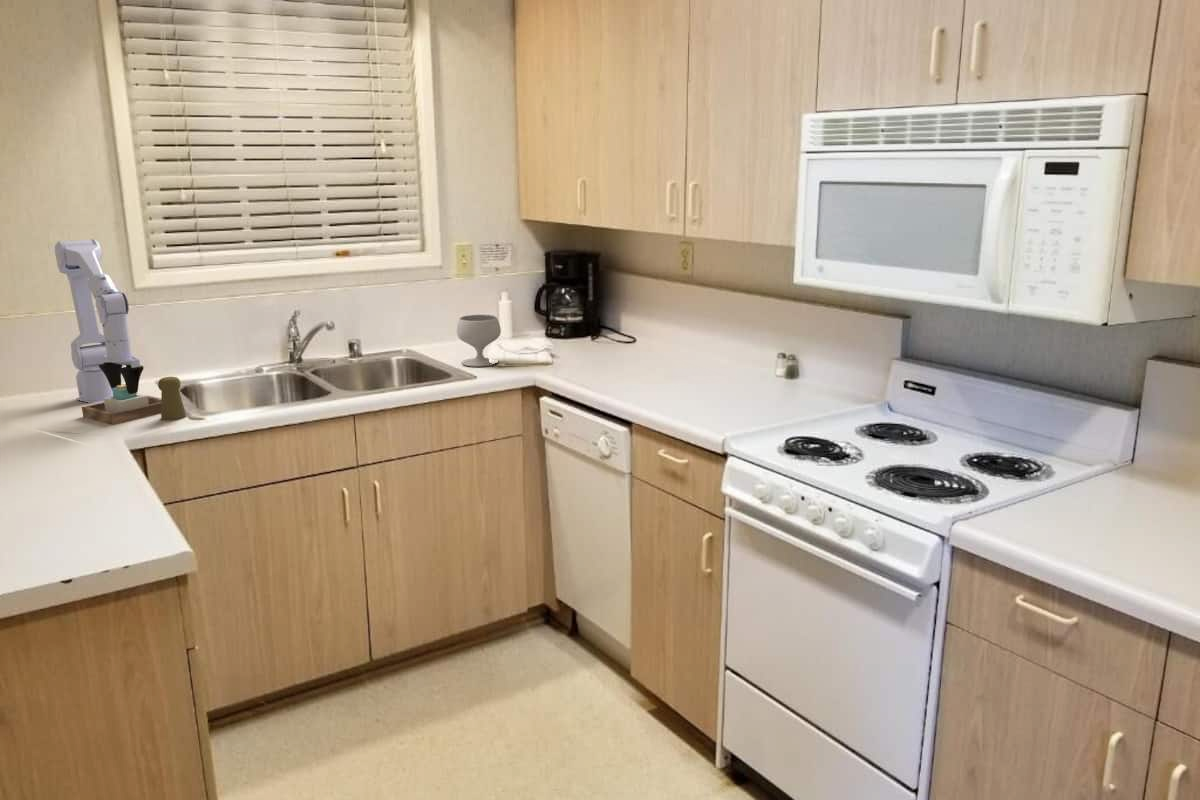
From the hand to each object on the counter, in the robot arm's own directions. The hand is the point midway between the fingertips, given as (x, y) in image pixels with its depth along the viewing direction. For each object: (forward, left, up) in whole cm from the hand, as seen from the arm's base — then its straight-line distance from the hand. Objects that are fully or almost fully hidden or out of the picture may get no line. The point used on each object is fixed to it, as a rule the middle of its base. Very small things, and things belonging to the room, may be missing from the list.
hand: (124, 391), depth 240 cm
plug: (0, 0, -6) cm, 6 cm away
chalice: (+40, +95, -7) cm, 103 cm away
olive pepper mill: (+14, +4, -7) cm, 16 cm away
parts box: (0, 0, -6) cm, 6 cm away
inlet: (0, 0, -6) cm, 6 cm away
